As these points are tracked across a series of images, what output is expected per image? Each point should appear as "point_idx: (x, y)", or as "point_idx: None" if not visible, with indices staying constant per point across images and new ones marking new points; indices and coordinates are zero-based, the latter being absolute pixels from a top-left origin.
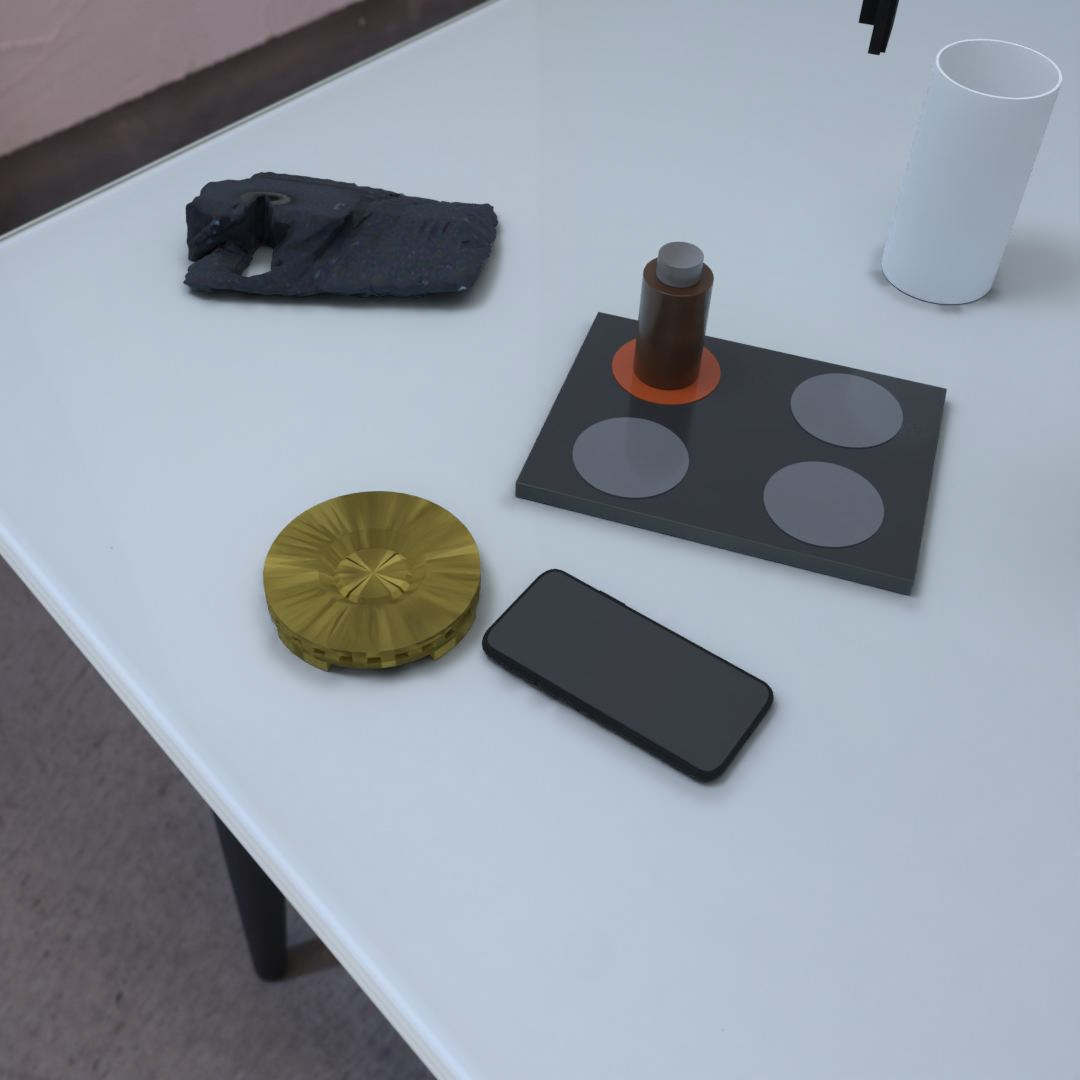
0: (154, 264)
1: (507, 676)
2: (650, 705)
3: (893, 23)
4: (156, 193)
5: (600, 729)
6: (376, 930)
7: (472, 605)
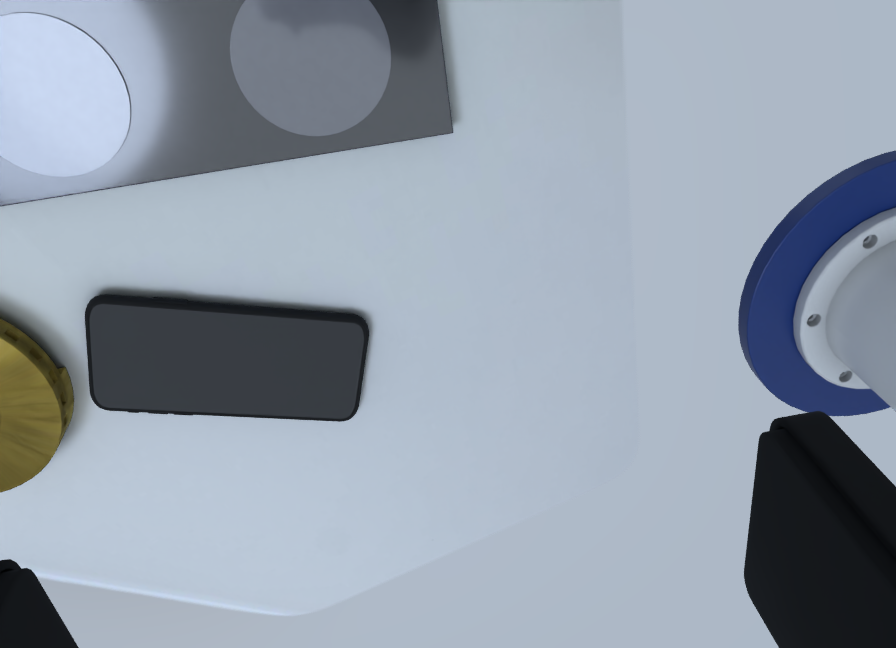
0: None
1: None
2: (273, 390)
3: (30, 599)
4: None
5: None
6: (201, 589)
7: (58, 388)
